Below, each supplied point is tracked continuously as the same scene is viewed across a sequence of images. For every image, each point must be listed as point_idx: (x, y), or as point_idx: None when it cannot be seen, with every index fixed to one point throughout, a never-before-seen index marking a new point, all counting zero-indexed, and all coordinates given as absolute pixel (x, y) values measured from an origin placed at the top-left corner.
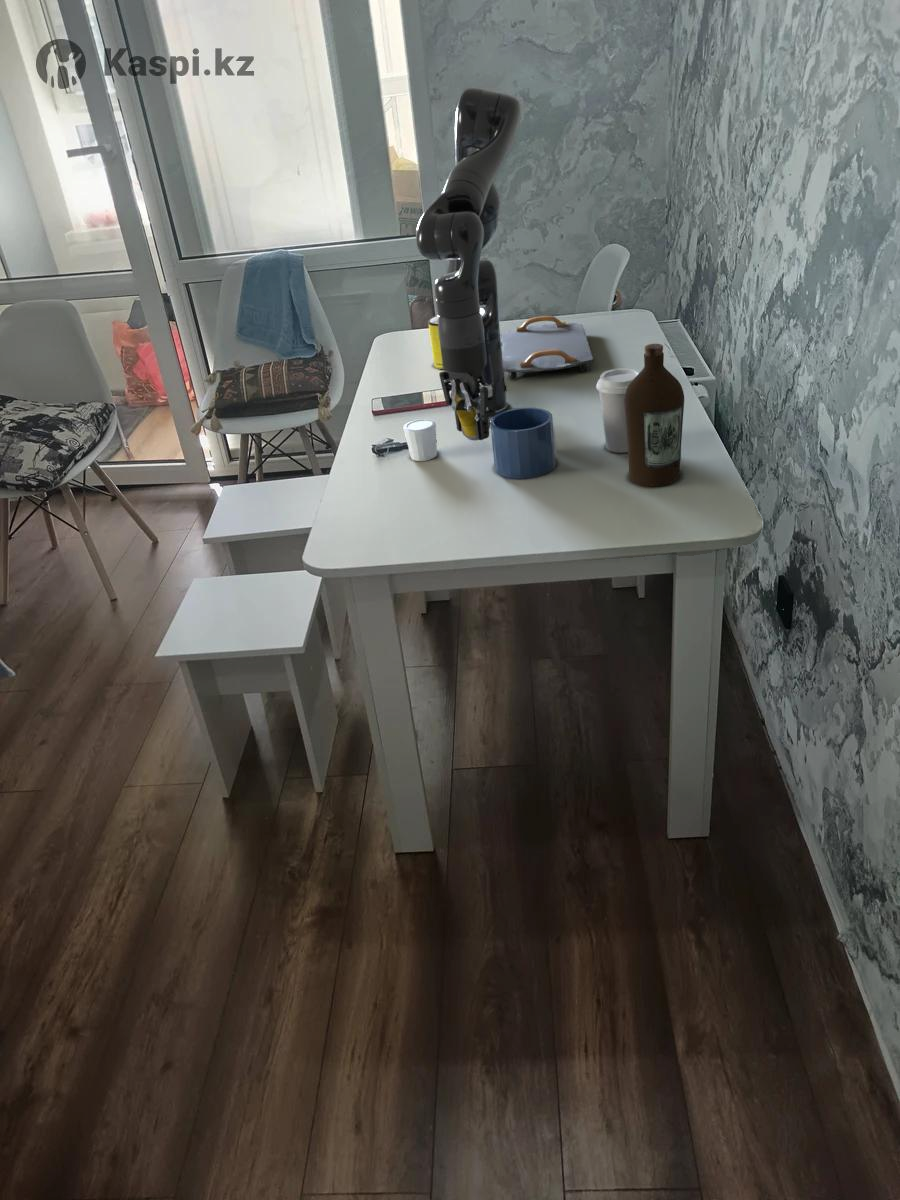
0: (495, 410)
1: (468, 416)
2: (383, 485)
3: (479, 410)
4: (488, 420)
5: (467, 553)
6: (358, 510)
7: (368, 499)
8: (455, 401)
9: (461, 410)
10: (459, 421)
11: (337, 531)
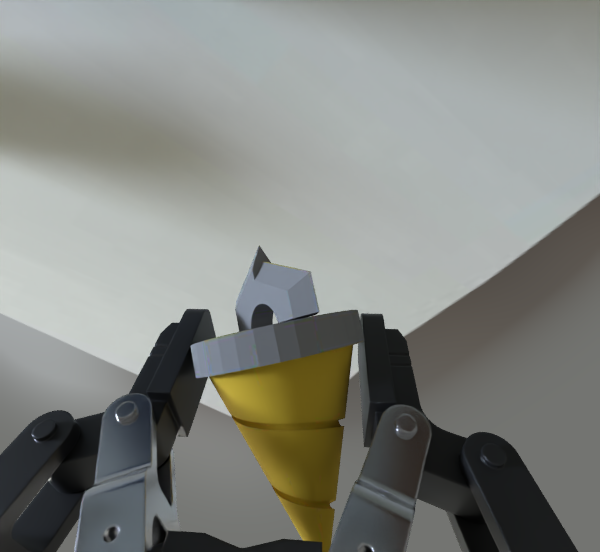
0: (535, 483)
1: (336, 478)
2: (29, 251)
3: (248, 368)
4: (345, 334)
5: (440, 299)
6: (128, 330)
7: (88, 300)
8: (180, 529)
9: (314, 538)
10: (202, 384)
11: None
